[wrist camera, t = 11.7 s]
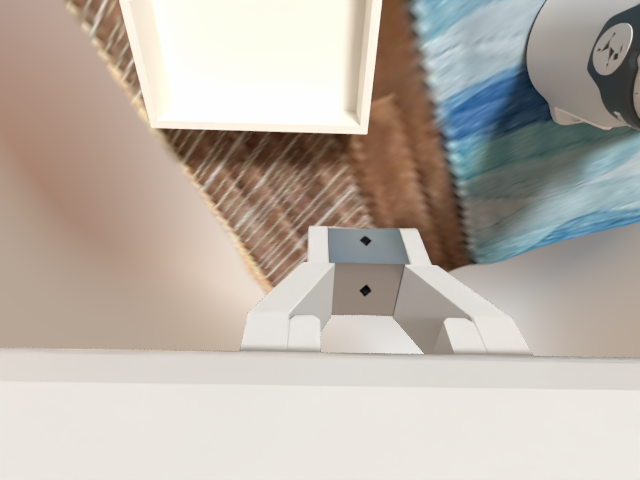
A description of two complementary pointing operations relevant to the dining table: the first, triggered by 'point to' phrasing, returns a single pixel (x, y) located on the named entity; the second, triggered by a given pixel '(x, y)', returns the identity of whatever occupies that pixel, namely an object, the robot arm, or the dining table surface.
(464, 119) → the dining table surface
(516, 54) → the dining table surface
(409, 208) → the dining table surface
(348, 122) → the drawer box
